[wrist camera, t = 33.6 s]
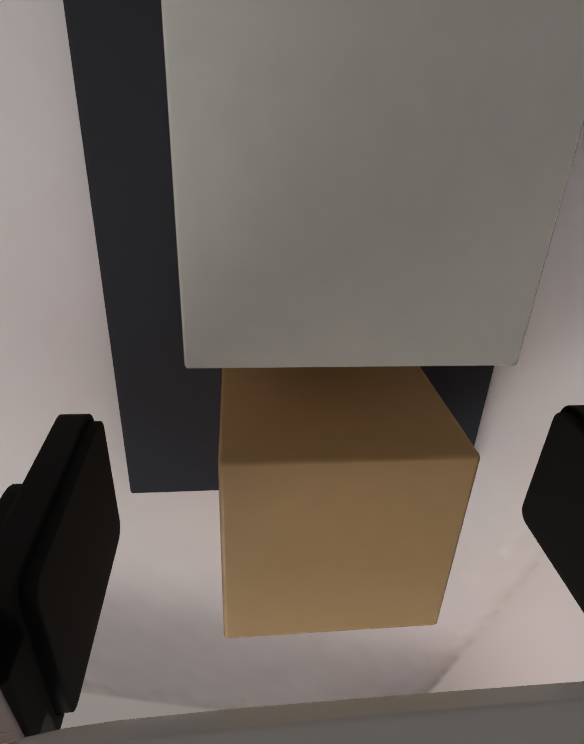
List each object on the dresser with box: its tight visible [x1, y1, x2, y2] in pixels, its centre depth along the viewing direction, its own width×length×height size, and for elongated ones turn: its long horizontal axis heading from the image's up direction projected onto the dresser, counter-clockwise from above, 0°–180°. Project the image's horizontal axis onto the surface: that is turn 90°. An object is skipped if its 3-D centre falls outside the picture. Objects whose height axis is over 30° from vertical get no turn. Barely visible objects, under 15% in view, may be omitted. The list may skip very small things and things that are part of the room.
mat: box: [63, 0, 494, 493], centre depth 13 cm, size 12×10×1 cm
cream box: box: [161, 0, 584, 368], centre depth 9 cm, size 6×6×4 cm
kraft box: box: [218, 366, 480, 638], centre depth 12 cm, size 4×4×5 cm
